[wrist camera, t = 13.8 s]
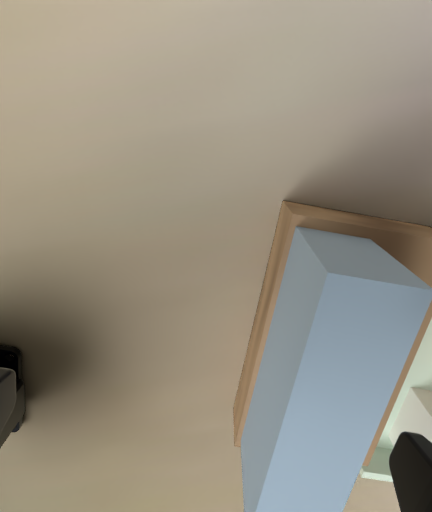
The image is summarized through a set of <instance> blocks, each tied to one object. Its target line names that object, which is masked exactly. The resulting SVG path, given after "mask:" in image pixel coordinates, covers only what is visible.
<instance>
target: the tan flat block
mask: <svg viewBox="0 0 432 512" xmlns="http://www.w3.org/2000/svg"><path fill="white" fill-rule="evenodd" d="M296 226H298V227H304V228H310V229H315V230H321V231H327V232H333V233H338V234H344V235H350V236H355V237H361V238H367V239H371V240H372V241H373V242H375V243H376V244H377V245H378V246H380V247H381V248H382V249H383V250H385V251H386V252H387V253H388V254H390V255H391V256H392V257H393V258H395V259H396V260H397V261H398V262H400V263H401V264H402V265H404V266H405V267H406V268H407V269H409V270H410V271H411V272H412V273H414V274H415V275H416V276H417V277H419V278H420V279H421V280H422V281H424V282H425V283H426V284H427V285H429V286H430V287H431V288H432V228H431V227H429V226H423V225H417V224H412V223H406V222H401V221H395V220H389V219H384V218H378V217H372V216H367V215H361V214H355V213H350V212H344V211H338V210H333V209H327V208H321V207H316V206H310V205H305V204H299V203H293V202H288V201H283V202H282V206H281V210H280V215H279V219H278V223H277V227H276V231H275V236H274V240H273V244H272V248H271V252H270V257H269V261H268V265H267V269H266V273H265V277H264V282H263V286H262V290H261V294H260V298H259V303H258V307H257V311H256V315H255V319H254V324H253V328H252V332H251V336H250V340H249V345H248V349H247V353H246V357H245V361H244V366H243V370H242V374H241V378H240V382H239V387H238V391H237V395H236V399H235V403H234V408H233V414H234V446H237V447H241V437H242V433H243V430H244V426H245V422H246V418H247V414H248V410H249V406H250V402H251V398H252V395H253V391H254V387H255V383H256V379H257V375H258V371H259V367H260V363H261V360H262V356H263V352H264V348H265V344H266V340H267V336H268V332H269V328H270V324H271V321H272V317H273V313H274V309H275V305H276V301H277V297H278V293H279V289H280V286H281V282H282V278H283V274H284V270H285V266H286V262H287V258H288V254H289V250H290V247H291V243H292V239H293V235H294V231H295V227H296ZM431 318H432V300H431V303H430V305H429V307H428V310H427V312H426V314H425V317H424V319H423V322H422V324H421V326H420V329H419V331H418V333H417V336H416V338H415V341H414V343H413V345H412V348H411V350H410V352H409V355H408V357H407V360H406V362H405V364H404V367H403V369H402V371H401V374H400V376H399V379H398V381H397V383H396V386H395V388H394V390H393V393H392V395H391V398H390V400H389V402H388V405H387V407H386V409H385V412H384V414H383V417H382V419H381V421H380V424H379V426H378V428H377V431H376V433H375V436H374V438H373V440H372V443H371V445H370V447H369V450H368V452H367V455H366V457H365V459H364V462H363V464H362V465H363V466H368V465H369V463H370V460H371V458H372V456H373V453H374V451H375V449H376V446H377V444H378V442H379V439H380V437H381V435H382V432H383V430H384V428H385V425H386V423H387V421H388V418H389V416H390V414H391V411H392V409H393V407H394V404H395V402H396V400H397V397H398V395H399V393H400V390H401V388H402V386H403V383H404V381H405V379H406V376H407V374H408V372H409V369H410V367H411V365H412V363H413V360H414V358H415V356H416V353H417V351H418V349H419V346H420V344H421V342H422V339H423V337H424V335H425V332H426V330H427V328H428V325H429V323H430V321H431Z"/></svg>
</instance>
